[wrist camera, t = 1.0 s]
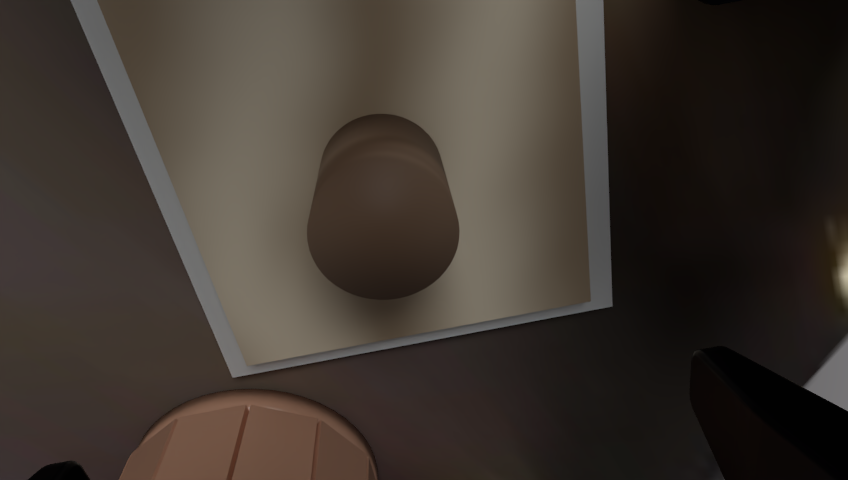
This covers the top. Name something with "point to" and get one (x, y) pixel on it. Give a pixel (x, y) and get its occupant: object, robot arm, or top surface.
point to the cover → (368, 159)
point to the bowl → (252, 441)
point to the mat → (601, 297)
